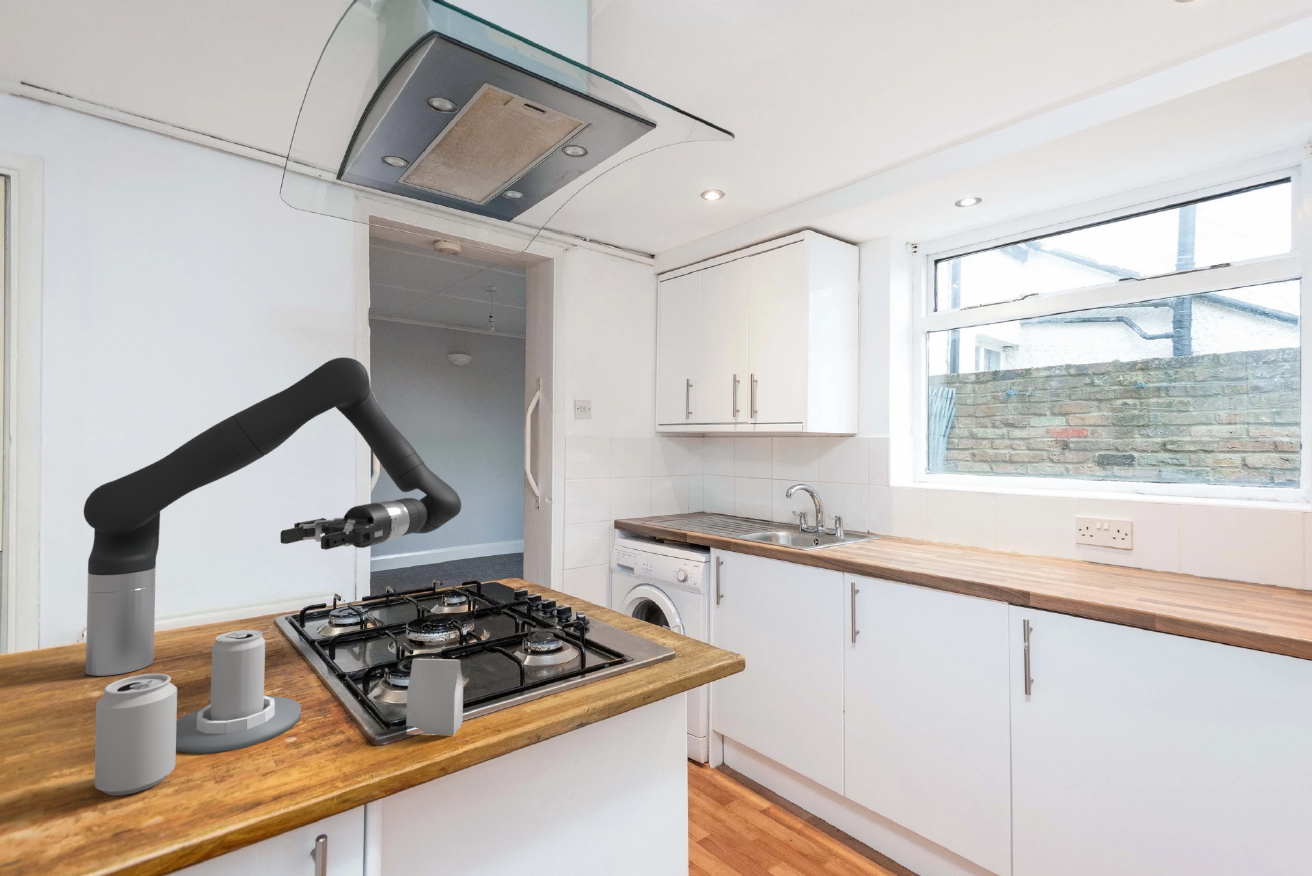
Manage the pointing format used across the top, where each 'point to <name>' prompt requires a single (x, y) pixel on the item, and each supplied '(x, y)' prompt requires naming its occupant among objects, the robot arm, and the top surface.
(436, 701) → the grey printed carton
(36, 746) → the top surface
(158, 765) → the can
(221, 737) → the dock
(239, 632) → the beverage can
